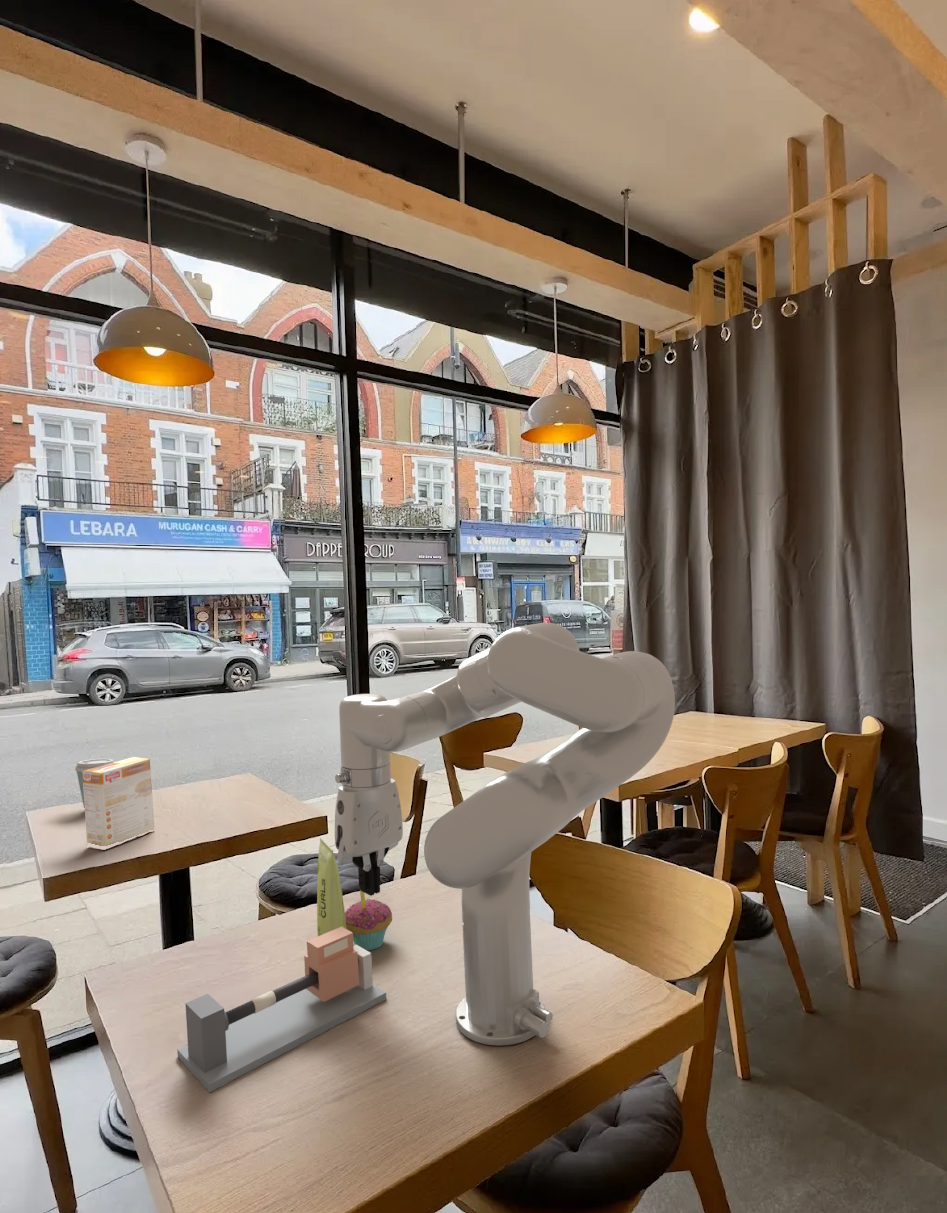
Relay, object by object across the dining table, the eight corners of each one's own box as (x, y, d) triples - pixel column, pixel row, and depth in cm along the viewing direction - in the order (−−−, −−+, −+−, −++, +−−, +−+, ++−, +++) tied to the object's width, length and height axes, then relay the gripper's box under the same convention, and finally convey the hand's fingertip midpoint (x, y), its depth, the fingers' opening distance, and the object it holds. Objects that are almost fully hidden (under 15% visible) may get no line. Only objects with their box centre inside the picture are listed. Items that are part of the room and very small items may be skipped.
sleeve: (340, 972, 111) (338, 924, 111) (359, 984, 107) (356, 935, 107) (305, 989, 107) (303, 939, 107) (324, 1002, 103) (321, 950, 103)
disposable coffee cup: (93, 805, 218) (90, 755, 217) (126, 805, 216) (123, 755, 216) (69, 816, 207) (66, 764, 207) (104, 816, 206) (100, 764, 205)
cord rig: (348, 975, 115) (346, 925, 115) (386, 999, 108) (383, 946, 107) (177, 1056, 96) (174, 997, 96) (209, 1092, 89) (205, 1029, 89)
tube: (309, 964, 119) (302, 847, 118) (326, 949, 123) (320, 836, 123) (338, 970, 117) (332, 850, 116) (355, 954, 121) (349, 839, 121)
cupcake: (384, 958, 120) (380, 886, 119) (335, 955, 121) (331, 884, 121) (399, 933, 128) (396, 866, 128) (354, 930, 130) (350, 864, 130)
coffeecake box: (137, 829, 193) (132, 756, 193) (155, 831, 190) (151, 758, 190) (85, 848, 180) (80, 770, 179) (105, 851, 177) (100, 772, 176)
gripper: (338, 790, 104) (342, 916, 105) (419, 769, 114) (422, 884, 115) (310, 780, 109) (315, 900, 110) (390, 761, 120) (393, 870, 120)
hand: (369, 891), depth 113 cm, fingers closed
